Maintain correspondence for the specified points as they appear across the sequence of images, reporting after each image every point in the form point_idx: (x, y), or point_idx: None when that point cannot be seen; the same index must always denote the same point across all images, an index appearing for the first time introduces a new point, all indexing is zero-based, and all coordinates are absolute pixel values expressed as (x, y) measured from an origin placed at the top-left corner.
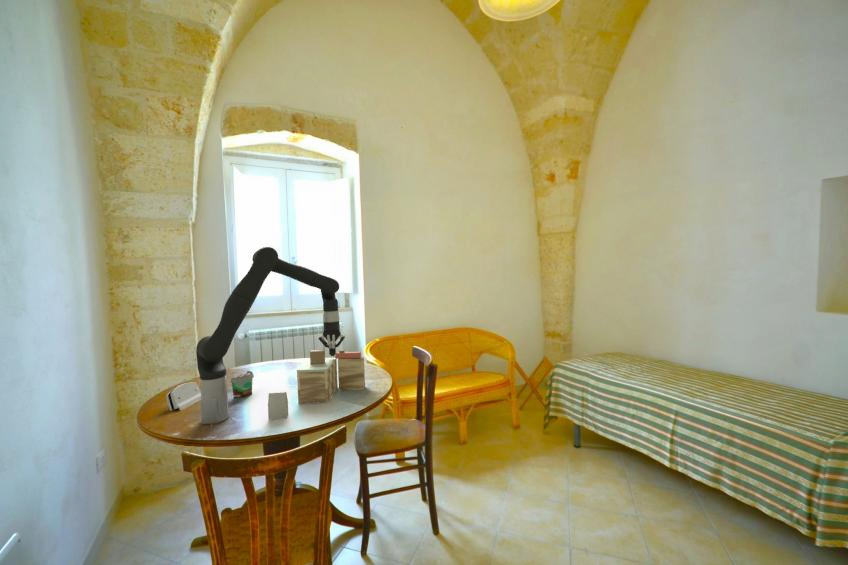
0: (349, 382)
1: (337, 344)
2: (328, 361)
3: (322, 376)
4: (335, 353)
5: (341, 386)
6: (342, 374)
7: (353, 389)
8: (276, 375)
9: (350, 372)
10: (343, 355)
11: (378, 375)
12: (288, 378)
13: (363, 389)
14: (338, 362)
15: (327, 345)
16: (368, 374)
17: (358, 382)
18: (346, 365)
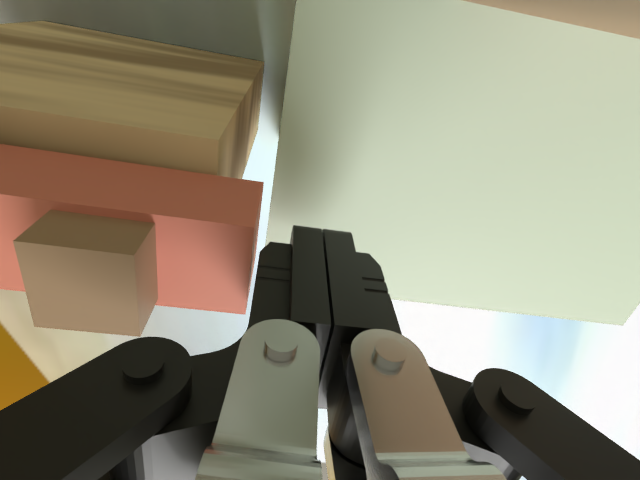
0: (149, 52)
1: (113, 416)
2: (387, 56)
3: None
4: (247, 226)
5: (236, 61)
6: (199, 77)
7: (136, 38)
8: (614, 415)
9: (89, 62)
10: (79, 178)
11: (29, 320)
12: (569, 368)
13: (44, 21)
14: (216, 124)
15: (481, 423)
16: (106, 347)
17: (56, 35)
18: (99, 88)
